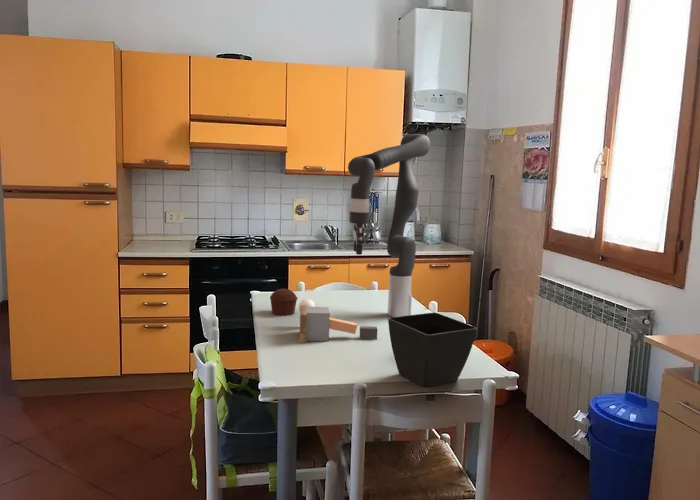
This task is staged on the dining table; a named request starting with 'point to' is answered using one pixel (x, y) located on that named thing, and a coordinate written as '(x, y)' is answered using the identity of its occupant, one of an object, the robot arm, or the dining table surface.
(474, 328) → the flower pot
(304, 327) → the wooden board
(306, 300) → the lightbulb
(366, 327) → the block
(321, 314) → the block
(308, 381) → the dining table surface
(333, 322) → the dowel
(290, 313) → the muffin
